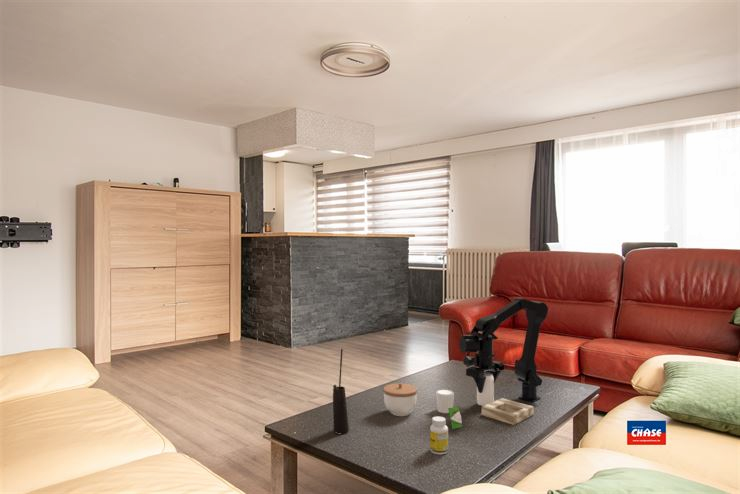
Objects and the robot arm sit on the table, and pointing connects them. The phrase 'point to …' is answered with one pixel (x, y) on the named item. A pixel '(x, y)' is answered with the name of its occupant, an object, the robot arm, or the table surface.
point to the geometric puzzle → (455, 417)
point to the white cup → (444, 400)
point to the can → (486, 391)
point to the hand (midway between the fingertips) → (485, 390)
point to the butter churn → (340, 407)
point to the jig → (507, 411)
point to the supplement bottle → (439, 436)
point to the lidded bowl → (400, 398)
